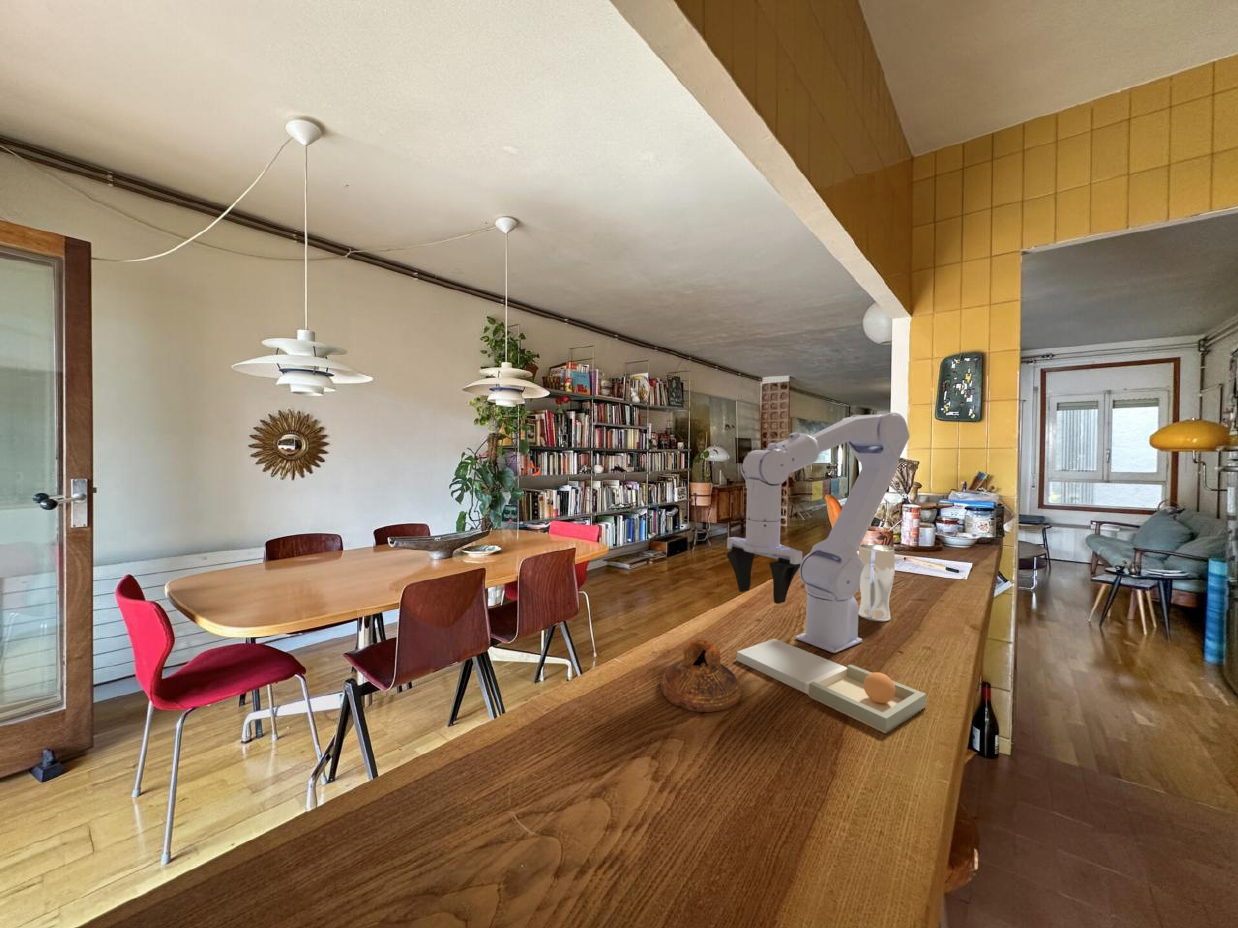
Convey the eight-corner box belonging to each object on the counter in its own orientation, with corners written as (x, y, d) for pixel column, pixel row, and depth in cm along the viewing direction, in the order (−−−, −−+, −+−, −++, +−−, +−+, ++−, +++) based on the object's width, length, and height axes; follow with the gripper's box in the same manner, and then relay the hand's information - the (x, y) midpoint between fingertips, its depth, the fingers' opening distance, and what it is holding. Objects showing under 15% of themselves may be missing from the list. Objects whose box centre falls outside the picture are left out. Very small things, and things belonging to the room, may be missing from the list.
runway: (774, 646, 89) (774, 638, 89) (848, 677, 78) (848, 668, 78) (736, 660, 83) (736, 651, 83) (810, 695, 72) (811, 685, 72)
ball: (879, 671, 73) (899, 672, 69) (884, 701, 71) (904, 704, 68) (855, 671, 72) (874, 672, 68) (859, 701, 71) (879, 704, 67)
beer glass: (899, 622, 102) (902, 550, 101) (865, 622, 102) (868, 550, 101) (882, 611, 109) (884, 543, 108) (850, 610, 109) (852, 543, 108)
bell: (756, 692, 73) (757, 644, 73) (709, 725, 65) (710, 670, 64) (692, 666, 81) (693, 623, 81) (643, 692, 73) (644, 643, 72)
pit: (850, 676, 78) (850, 664, 78) (925, 707, 69) (926, 693, 69) (808, 696, 72) (809, 683, 72) (885, 733, 63) (886, 718, 63)
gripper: (716, 515, 89) (714, 589, 90) (784, 527, 77) (782, 612, 78) (742, 512, 93) (740, 583, 94) (811, 523, 82) (808, 604, 82)
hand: (761, 596), depth 86 cm, fingers open, 7 cm apart
